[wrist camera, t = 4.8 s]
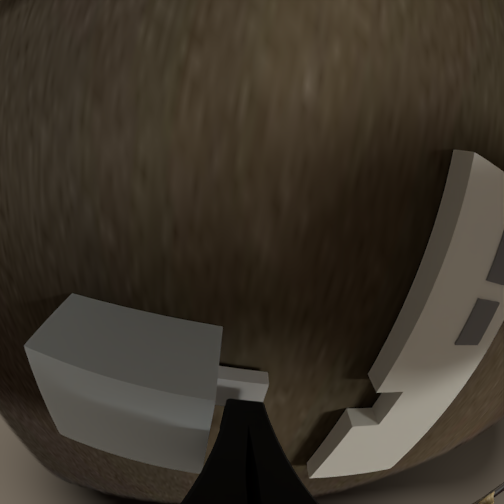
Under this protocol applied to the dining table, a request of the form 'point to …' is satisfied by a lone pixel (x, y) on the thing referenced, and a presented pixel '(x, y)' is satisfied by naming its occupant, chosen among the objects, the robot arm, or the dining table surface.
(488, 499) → the hand bell
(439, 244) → the power strip
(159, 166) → the dining table surface
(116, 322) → the charger
